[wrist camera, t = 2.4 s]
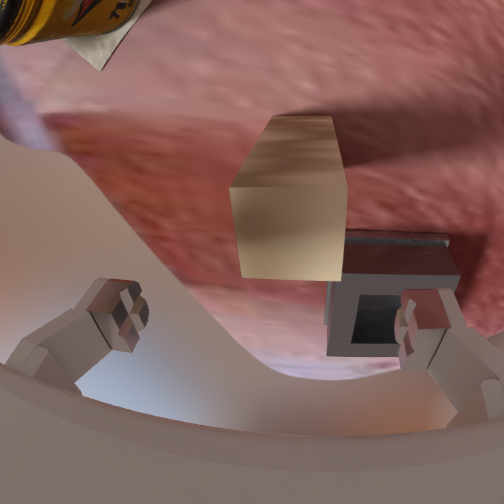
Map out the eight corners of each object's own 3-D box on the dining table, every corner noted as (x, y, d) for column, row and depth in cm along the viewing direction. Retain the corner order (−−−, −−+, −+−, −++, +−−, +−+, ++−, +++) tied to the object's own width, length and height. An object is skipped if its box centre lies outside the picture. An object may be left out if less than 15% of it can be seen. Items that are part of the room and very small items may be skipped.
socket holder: (446, 233, 23) (465, 272, 19) (420, 318, 29) (428, 357, 25) (330, 229, 25) (331, 269, 21) (324, 316, 31) (322, 358, 27)
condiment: (165, -15, 15) (44, -39, 6) (101, 71, 20) (-21, 114, 10) (105, -51, 13) (-14, -68, 4) (51, 30, 18) (-65, 57, 8)
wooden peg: (331, 115, 20) (347, 188, 10) (331, 169, 22) (340, 281, 12) (272, 116, 20) (229, 187, 11) (276, 169, 23) (242, 277, 13)
